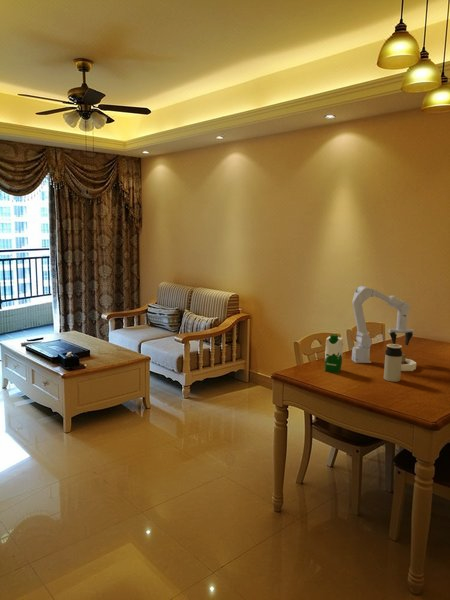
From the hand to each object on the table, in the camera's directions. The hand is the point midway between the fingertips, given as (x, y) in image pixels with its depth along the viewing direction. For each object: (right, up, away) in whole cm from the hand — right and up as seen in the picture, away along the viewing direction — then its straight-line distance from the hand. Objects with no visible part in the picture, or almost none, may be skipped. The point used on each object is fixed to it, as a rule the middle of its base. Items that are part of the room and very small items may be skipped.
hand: (400, 344), depth 272 cm
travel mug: (-17, -15, -33) cm, 40 cm away
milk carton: (-44, -12, -19) cm, 50 cm away
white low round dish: (-3, -12, -11) cm, 16 cm away
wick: (-3, -11, -11) cm, 16 cm away
